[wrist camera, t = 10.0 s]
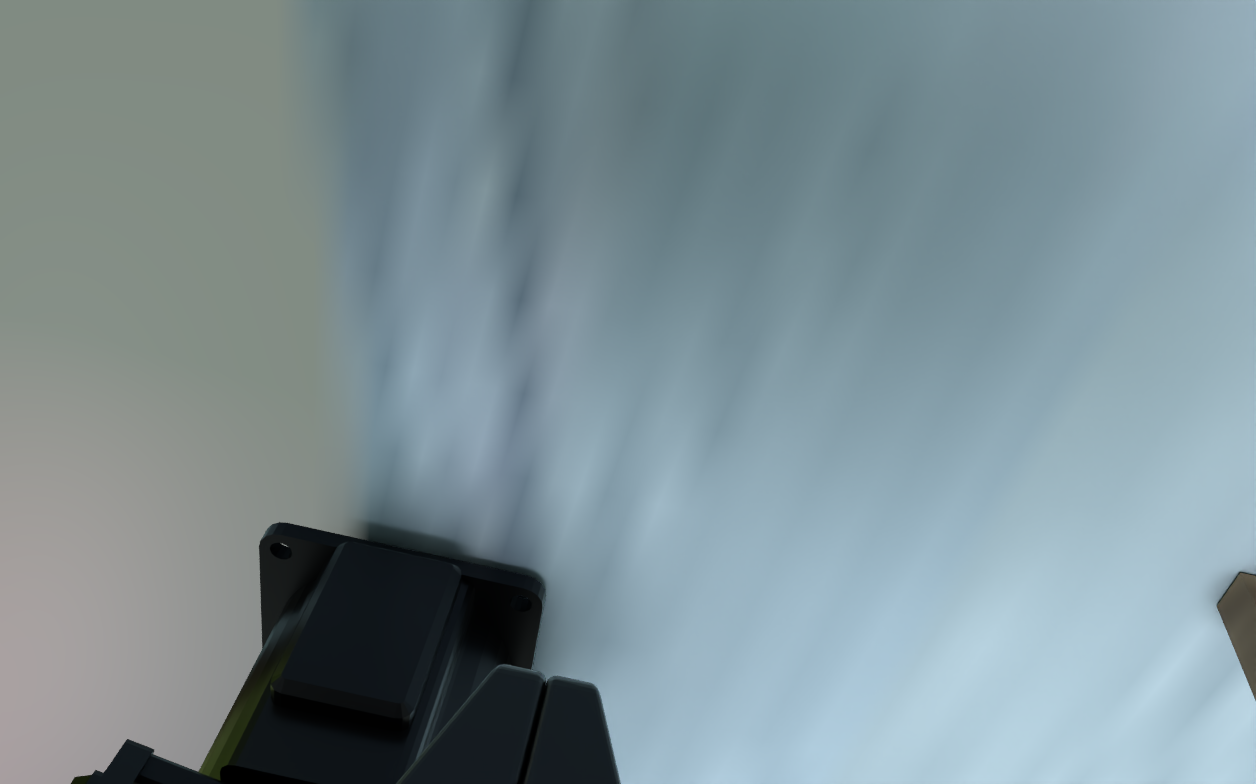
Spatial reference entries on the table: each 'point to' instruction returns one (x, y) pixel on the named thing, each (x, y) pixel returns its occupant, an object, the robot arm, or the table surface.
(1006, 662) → the table surface
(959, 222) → the table surface
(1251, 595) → the mounting bracket
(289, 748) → the robot arm
